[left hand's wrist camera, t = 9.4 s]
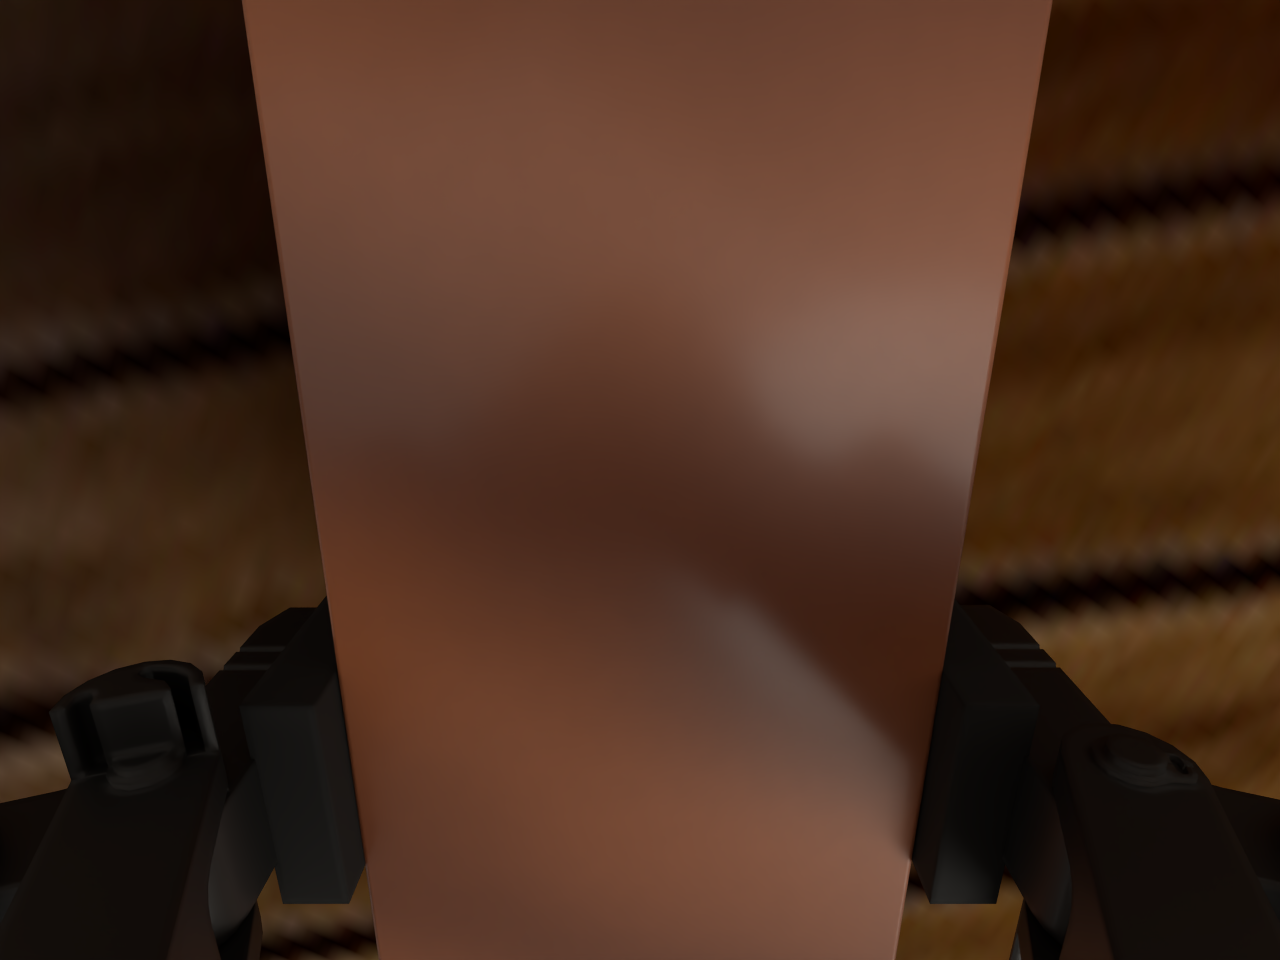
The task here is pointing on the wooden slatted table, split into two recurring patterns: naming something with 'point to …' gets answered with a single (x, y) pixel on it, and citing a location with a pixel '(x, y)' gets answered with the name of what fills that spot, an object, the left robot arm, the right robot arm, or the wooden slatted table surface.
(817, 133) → the cabinet
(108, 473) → the wooden slatted table surface
